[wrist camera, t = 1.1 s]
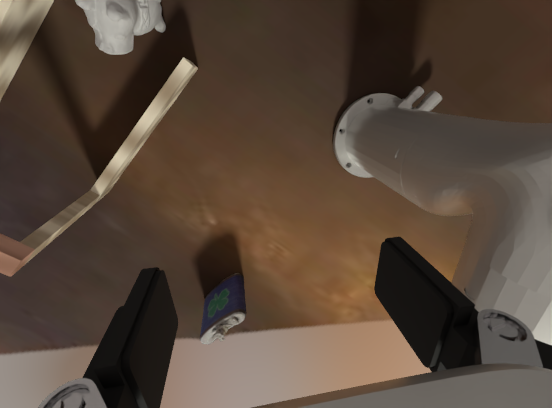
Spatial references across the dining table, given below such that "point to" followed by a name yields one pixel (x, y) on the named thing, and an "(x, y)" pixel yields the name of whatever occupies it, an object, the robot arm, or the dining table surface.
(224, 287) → the flask
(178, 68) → the channel
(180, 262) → the dining table surface
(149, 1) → the dog figurine
